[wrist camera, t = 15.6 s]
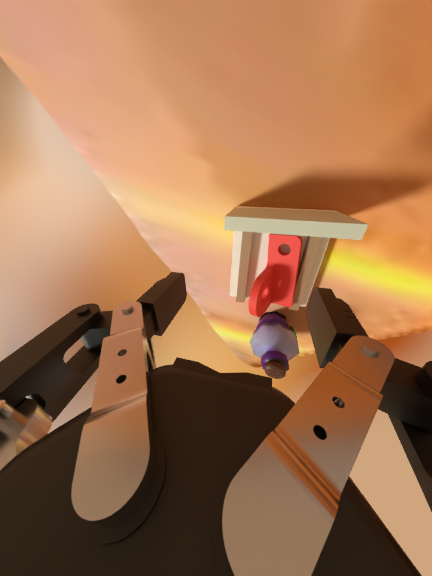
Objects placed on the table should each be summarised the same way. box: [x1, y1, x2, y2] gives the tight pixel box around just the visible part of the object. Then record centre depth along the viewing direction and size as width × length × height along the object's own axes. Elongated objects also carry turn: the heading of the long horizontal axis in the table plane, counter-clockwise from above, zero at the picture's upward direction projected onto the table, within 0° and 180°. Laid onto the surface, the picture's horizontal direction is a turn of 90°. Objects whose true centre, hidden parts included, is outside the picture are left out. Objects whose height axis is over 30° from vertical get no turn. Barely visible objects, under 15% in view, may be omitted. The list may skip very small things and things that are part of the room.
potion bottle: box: [250, 312, 299, 379], centre depth 32 cm, size 9×9×12 cm
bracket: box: [249, 233, 303, 317], centre depth 26 cm, size 12×4×8 cm, turn 6°
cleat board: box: [225, 206, 368, 311], centre depth 26 cm, size 14×16×10 cm
